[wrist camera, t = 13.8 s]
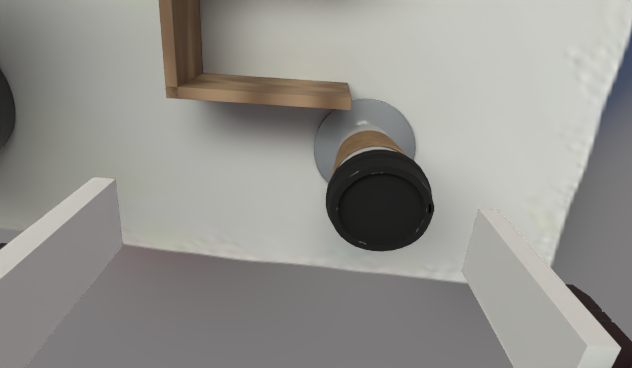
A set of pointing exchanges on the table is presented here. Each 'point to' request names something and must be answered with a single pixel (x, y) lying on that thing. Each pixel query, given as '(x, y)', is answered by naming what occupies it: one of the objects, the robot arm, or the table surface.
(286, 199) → the table surface
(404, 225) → the coffee cup
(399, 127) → the coaster
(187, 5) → the wooden c-shaped bracket
